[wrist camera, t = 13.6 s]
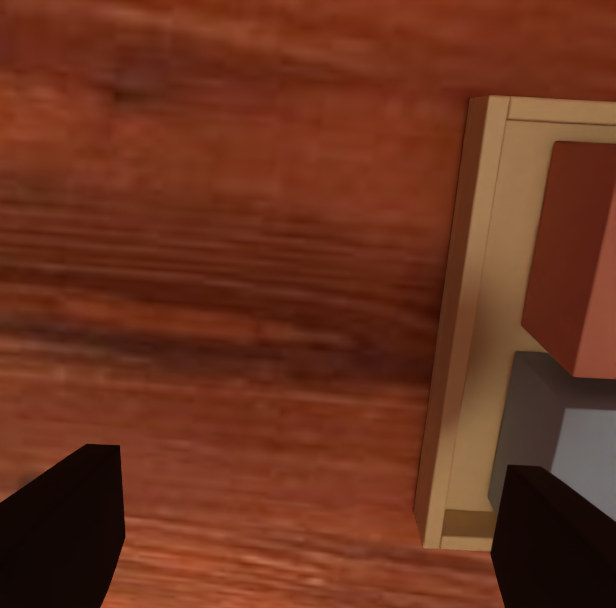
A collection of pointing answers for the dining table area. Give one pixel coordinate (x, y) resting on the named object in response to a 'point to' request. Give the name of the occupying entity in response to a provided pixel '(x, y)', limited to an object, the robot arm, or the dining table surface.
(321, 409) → the dining table surface
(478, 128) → the frame
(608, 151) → the rose pad
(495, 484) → the tall grey box
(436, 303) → the dining table surface
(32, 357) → the dining table surface
